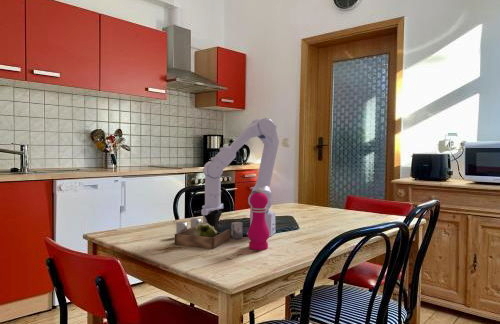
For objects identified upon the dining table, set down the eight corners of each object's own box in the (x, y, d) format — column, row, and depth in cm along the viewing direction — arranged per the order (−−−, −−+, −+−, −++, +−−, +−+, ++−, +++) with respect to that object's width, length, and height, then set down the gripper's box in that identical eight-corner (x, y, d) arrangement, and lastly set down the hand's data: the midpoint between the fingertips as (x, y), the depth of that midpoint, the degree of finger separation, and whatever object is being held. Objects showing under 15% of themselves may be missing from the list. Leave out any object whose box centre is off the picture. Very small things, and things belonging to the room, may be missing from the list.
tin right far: (189, 236, 141) (189, 222, 141) (183, 239, 137) (183, 224, 137) (179, 235, 143) (179, 221, 142) (174, 238, 139) (174, 223, 139)
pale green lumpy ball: (210, 249, 128) (205, 226, 126) (188, 247, 132) (184, 225, 131) (225, 238, 135) (221, 216, 134) (204, 237, 140) (200, 216, 139)
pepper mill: (262, 251, 122) (262, 189, 121) (243, 248, 126) (243, 188, 125) (273, 246, 128) (273, 187, 128) (254, 243, 132) (255, 186, 131)
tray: (230, 239, 138) (230, 229, 138) (213, 248, 125) (213, 238, 125) (194, 235, 143) (194, 226, 143) (174, 244, 130) (174, 234, 130)
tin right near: (202, 232, 148) (202, 218, 148) (198, 234, 144) (198, 220, 144) (193, 231, 150) (193, 217, 149) (188, 233, 146) (188, 219, 146)
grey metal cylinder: (214, 228, 156) (214, 214, 156) (210, 230, 152) (210, 216, 152) (205, 227, 157) (205, 214, 157) (201, 229, 153) (201, 215, 153)
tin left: (244, 237, 141) (244, 222, 141) (240, 239, 138) (240, 224, 137) (234, 236, 143) (234, 221, 142) (229, 238, 139) (229, 223, 139)
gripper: (211, 191, 148) (211, 226, 148) (193, 196, 134) (193, 234, 135) (228, 192, 145) (228, 227, 146) (211, 197, 132) (211, 236, 132)
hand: (212, 231), depth 140 cm, fingers closed
